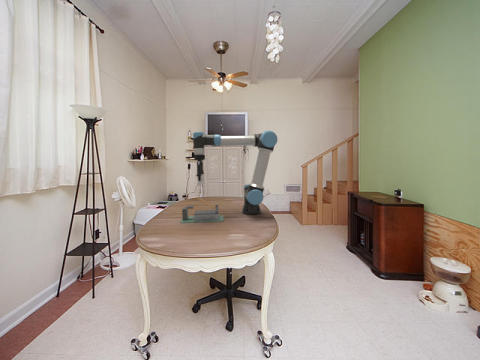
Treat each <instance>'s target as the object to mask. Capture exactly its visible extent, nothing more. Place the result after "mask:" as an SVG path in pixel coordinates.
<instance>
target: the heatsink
mask: <svg viewBox="0 0 480 360" xmlns="http://www.w3.org/2000/svg"><path fill="white" fill-rule="evenodd" d="M214 207H215V209H216V210H215V209H204V210H203V209H202V210H198V209H197V210H195V211H194V215H193V216H194V221H214V220H219V215H220V212H219V205H218V204H216V205H215V206H214Z"/></svg>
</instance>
